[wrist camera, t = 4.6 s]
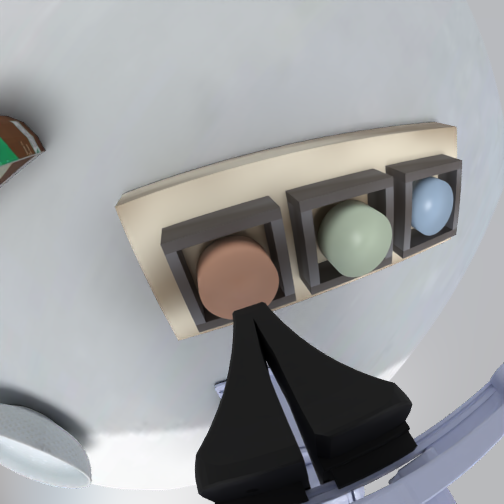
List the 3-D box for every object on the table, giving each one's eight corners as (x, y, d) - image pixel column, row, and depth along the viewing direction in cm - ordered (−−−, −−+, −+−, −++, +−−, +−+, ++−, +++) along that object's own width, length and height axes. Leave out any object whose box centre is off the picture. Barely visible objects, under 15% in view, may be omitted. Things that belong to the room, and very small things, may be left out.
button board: (433, 227, 24) (466, 248, 20) (177, 317, 21) (180, 361, 17) (434, 122, 18) (475, 131, 15) (123, 194, 16) (107, 220, 12)
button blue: (435, 217, 19) (450, 227, 18) (399, 231, 19) (415, 242, 17) (437, 169, 17) (454, 176, 16) (399, 178, 17) (417, 186, 15)
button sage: (374, 250, 18) (390, 264, 16) (320, 270, 17) (334, 286, 16) (373, 192, 16) (392, 202, 14) (313, 210, 15) (329, 222, 14)
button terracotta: (274, 286, 17) (284, 305, 15) (208, 307, 17) (213, 328, 15) (260, 225, 15) (271, 240, 13) (185, 249, 15) (187, 267, 13)
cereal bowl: (49, 453, 28) (46, 489, 22) (-33, 394, 20) (-45, 433, 13) (118, 441, 28) (119, 488, 22) (16, 368, 20) (-1, 424, 14)
